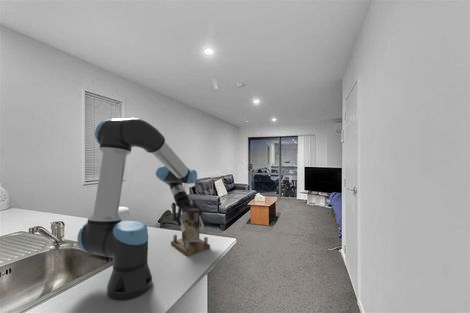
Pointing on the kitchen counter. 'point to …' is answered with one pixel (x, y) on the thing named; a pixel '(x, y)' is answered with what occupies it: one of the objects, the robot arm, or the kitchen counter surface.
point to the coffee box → (190, 224)
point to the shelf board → (190, 245)
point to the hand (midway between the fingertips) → (193, 228)
